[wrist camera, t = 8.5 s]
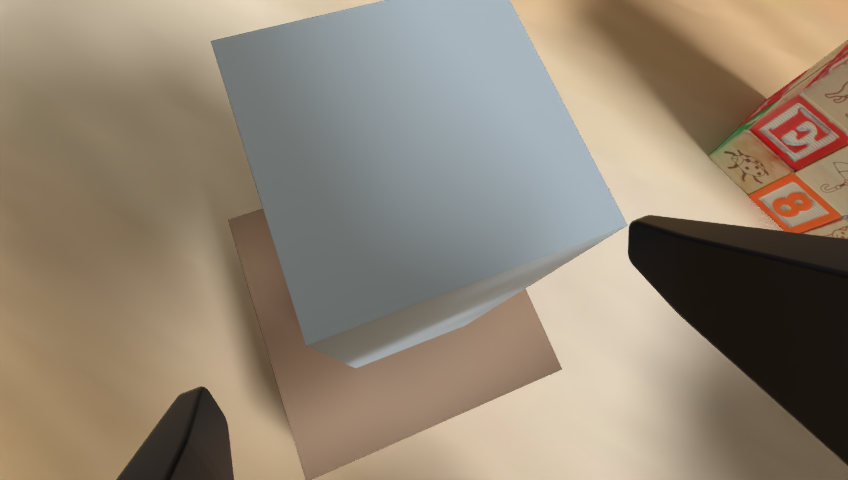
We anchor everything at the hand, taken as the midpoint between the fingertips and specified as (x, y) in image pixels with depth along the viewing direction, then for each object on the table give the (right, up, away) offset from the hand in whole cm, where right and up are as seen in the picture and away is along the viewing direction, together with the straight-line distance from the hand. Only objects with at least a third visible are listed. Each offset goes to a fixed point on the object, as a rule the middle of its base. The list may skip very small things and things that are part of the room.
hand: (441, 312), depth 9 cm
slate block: (-2, -1, +9) cm, 9 cm away
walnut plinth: (-2, -2, +12) cm, 13 cm away
